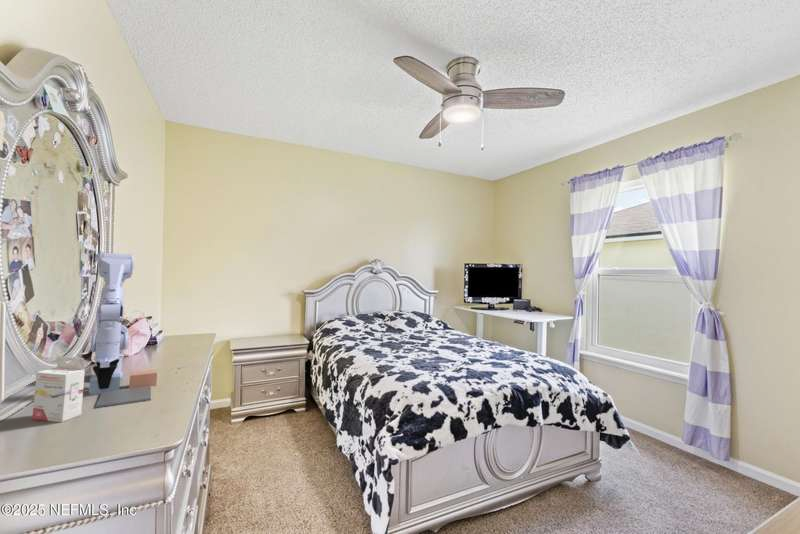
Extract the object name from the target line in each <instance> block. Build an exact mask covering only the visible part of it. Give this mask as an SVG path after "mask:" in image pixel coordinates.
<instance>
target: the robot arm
mask: <svg viewBox="0 0 800 534" xmlns="http://www.w3.org/2000/svg"><path fill="white" fill-rule="evenodd" d="M97 258H98V259H97V270H98V275H99V277H100V278H103V279H104V280H105V281H106V286H104V287H102V289H101V292H100V293H101V294H100V300H99V305H98V306H97V307H96V315H95V317H96V318H95V320H96V327H95V329H94V330H93V331H92V336H91V339H90V340H91V341H90V351H91V352H92V353H94V355H95V356H94V358H93V361H94V365H93V367H92V370H93V376H97V380H98V386H99V389H108V388H109V385H110V382H111V378H112V375H113V374H119V373H120V380H122V378H123V374H124V371H122V368H123V367H122V366H123V365H122V364H123V358H124V356H125V355H124V354H123V352H124V351H126V350H127V349H128V347H129V346H128V345H129V329H128V327H127V326H125V325H124V324H122V323H123V321H124V319H125V316H124V315H125V304H124V303H125V301H124V299H125V289H124V288H123V284H124V283H125V281H126V280H127V279H130V278H132V276H133V273H134V272H133V271H134V266H135V265H134V263H135V256H134V254H133V253H130V254H129V253H115V252H114V253H111V252H103V251H101V252H100V253H99V254H98V257H97ZM120 318H121V319H120Z"/></svg>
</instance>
